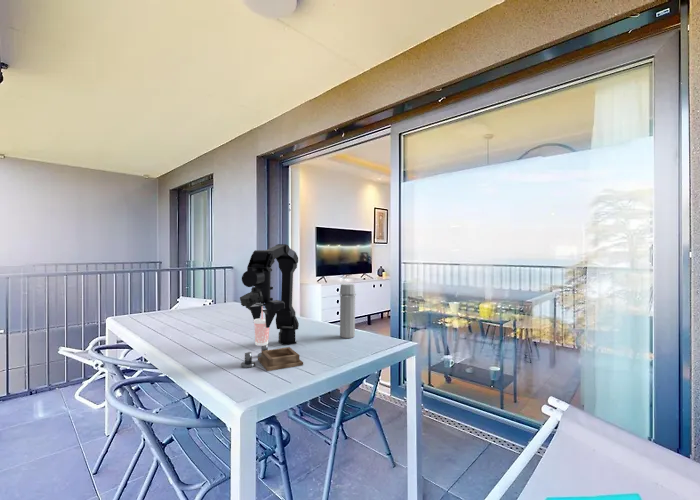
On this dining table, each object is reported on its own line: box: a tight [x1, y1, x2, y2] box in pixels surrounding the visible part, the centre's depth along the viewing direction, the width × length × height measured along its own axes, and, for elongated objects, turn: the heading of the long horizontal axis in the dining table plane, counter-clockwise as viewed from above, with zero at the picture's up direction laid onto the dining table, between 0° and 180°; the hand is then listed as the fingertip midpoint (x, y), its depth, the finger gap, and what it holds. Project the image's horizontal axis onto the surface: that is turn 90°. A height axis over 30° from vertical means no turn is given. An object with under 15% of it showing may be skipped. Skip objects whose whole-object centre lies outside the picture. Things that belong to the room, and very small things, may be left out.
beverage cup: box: [253, 306, 270, 347], centre depth 125 cm, size 6×6×14 cm
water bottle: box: [338, 283, 357, 339], centre depth 160 cm, size 9×8×25 cm
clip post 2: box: [257, 343, 269, 358], centre depth 131 cm, size 5×5×4 cm
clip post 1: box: [240, 351, 256, 369], centre depth 120 cm, size 5×5×4 cm
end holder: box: [257, 346, 304, 372], centre depth 123 cm, size 13×13×4 cm
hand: (262, 326), depth 125 cm, fingers closed on beverage cup, 6 cm apart
